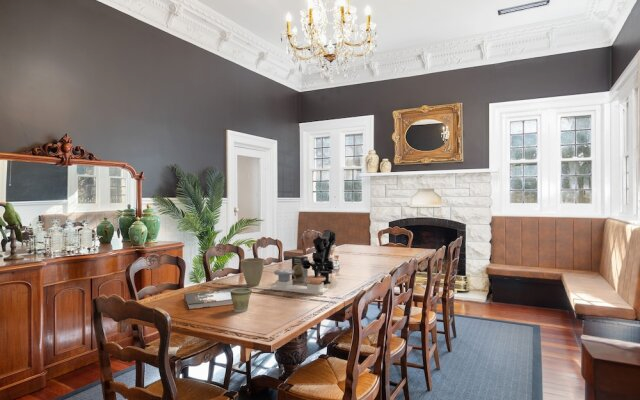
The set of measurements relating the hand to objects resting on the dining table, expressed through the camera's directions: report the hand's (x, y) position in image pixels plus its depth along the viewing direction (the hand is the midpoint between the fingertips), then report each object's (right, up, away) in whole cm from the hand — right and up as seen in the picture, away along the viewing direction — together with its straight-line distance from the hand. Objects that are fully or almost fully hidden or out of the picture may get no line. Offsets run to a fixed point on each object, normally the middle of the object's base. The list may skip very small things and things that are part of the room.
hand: (315, 276), depth 239 cm
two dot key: (-19, -4, +7) cm, 21 cm away
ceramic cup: (-36, -10, -37) cm, 52 cm away
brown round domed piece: (0, -6, -1) cm, 6 cm away
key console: (-10, -9, +3) cm, 13 cm away
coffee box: (-11, -8, +29) cm, 32 cm away
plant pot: (-40, -9, +18) cm, 45 cm away
